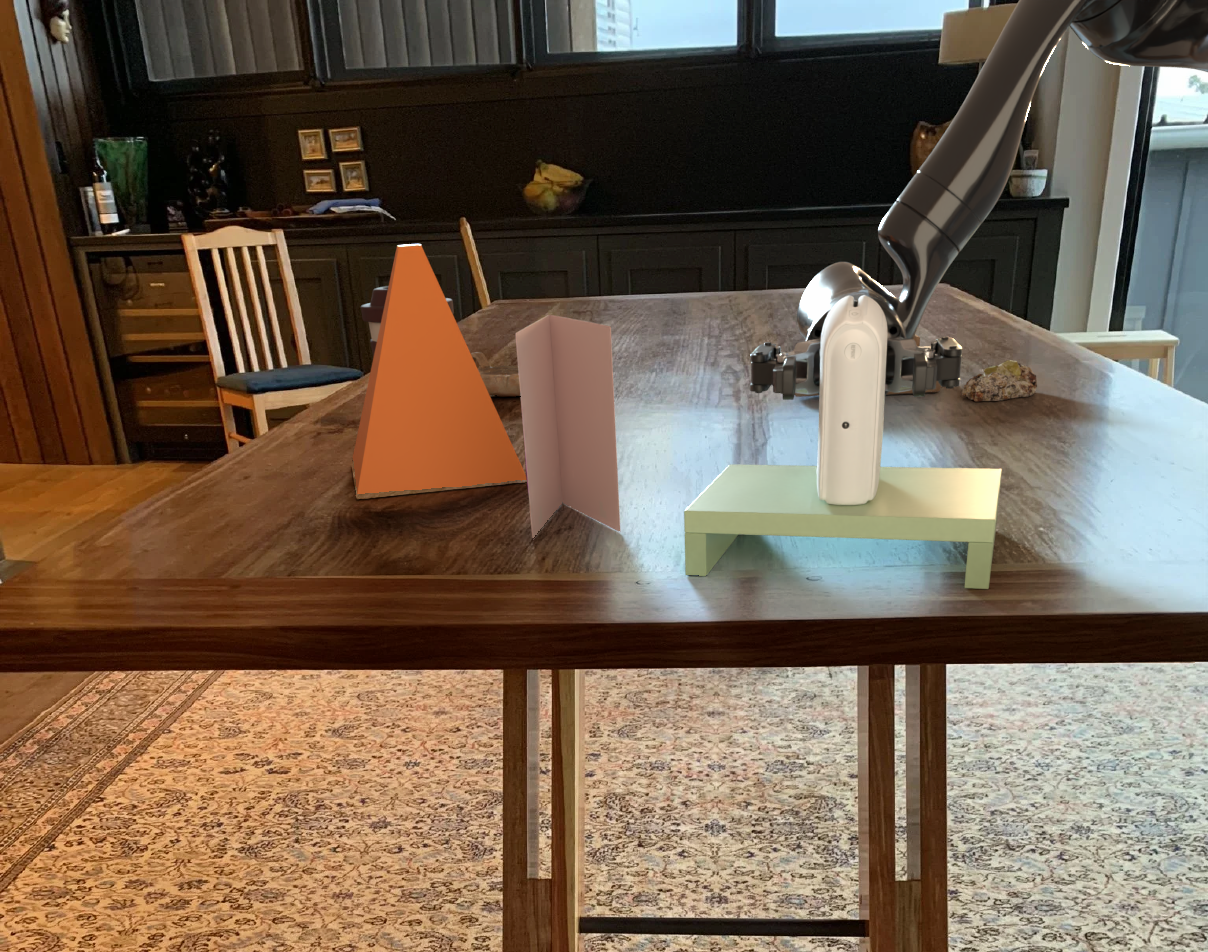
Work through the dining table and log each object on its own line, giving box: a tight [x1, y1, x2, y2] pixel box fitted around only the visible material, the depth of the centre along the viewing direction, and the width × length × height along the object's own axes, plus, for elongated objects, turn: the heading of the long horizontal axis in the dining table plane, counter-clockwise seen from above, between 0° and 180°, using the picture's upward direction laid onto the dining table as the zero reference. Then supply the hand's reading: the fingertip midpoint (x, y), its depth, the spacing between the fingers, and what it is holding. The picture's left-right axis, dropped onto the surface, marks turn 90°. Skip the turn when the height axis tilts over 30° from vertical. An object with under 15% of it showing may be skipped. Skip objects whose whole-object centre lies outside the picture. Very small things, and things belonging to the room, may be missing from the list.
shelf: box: [683, 464, 1003, 590], centre depth 84 cm, size 20×14×4 cm
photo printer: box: [816, 295, 888, 505], centre depth 80 cm, size 10×4×12 cm, turn 168°
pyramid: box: [352, 243, 527, 494], centre depth 110 cm, size 16×16×20 cm
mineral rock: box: [961, 359, 1038, 403], centre depth 136 cm, size 11×4×8 cm
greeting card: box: [514, 314, 621, 539], centre depth 93 cm, size 11×7×15 cm, turn 170°
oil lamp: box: [470, 351, 521, 397], centre depth 153 cm, size 13×8×5 cm, turn 43°
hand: (853, 381), depth 78 cm, fingers open, 8 cm apart
